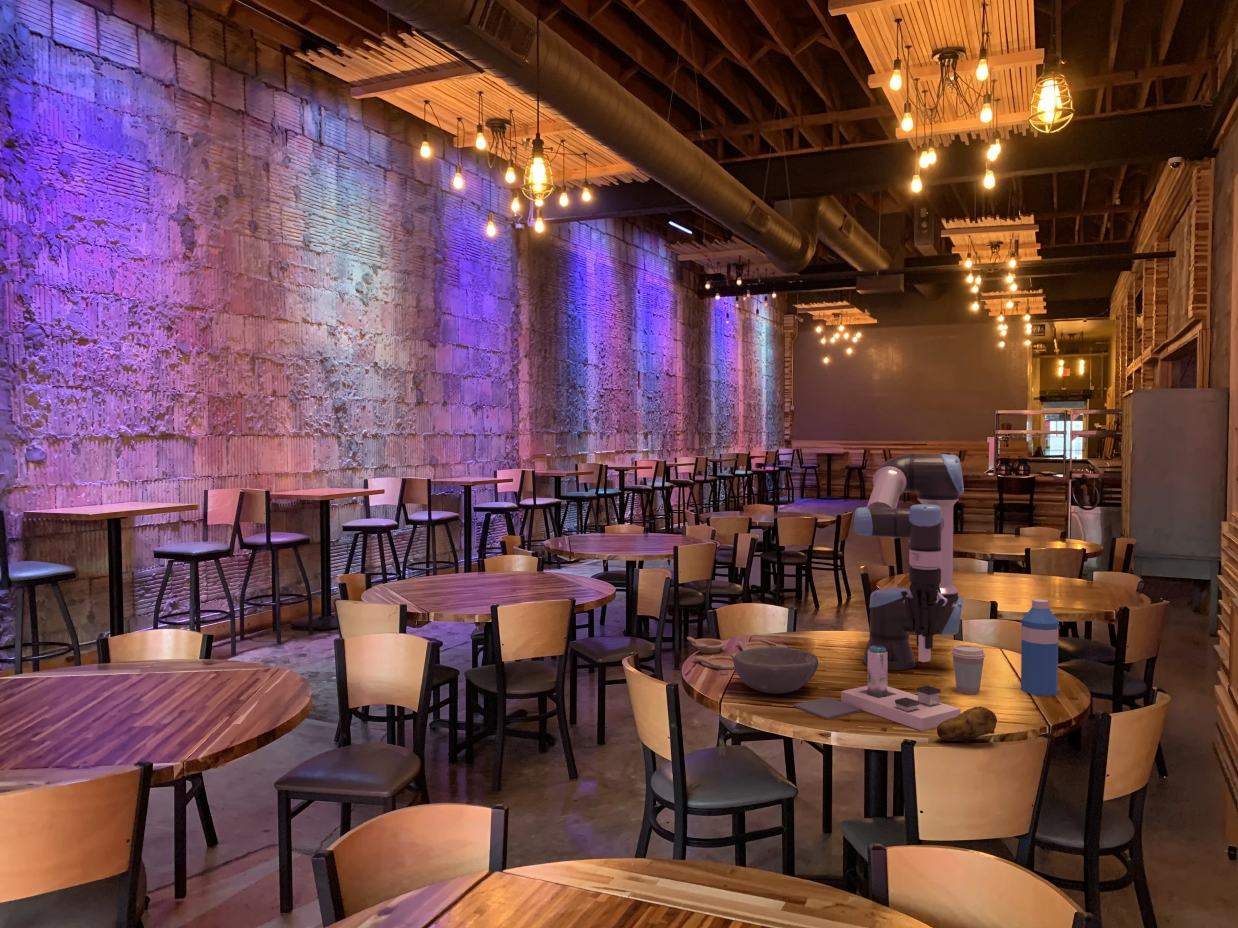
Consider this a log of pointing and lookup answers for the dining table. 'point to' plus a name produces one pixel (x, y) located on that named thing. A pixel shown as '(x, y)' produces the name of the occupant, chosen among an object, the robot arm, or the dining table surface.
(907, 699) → the plunger near
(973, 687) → the coffee cup
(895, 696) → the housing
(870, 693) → the cylinder
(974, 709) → the potato
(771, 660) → the bowl
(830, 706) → the mat
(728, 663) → the tableware set
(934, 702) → the dark topped block
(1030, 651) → the water bottle
